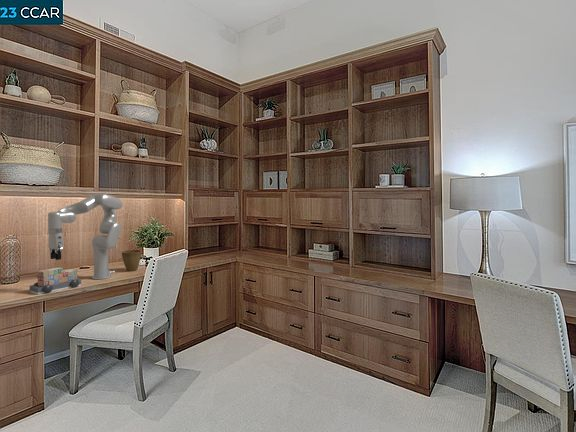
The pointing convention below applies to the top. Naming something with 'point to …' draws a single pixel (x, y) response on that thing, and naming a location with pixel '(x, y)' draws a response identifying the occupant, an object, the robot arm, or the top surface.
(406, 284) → the top surface
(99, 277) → the robot arm
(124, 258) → the plant pot
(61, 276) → the stack of blocks
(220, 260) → the top surface
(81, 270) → the top surface
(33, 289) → the chassis
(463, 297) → the top surface
